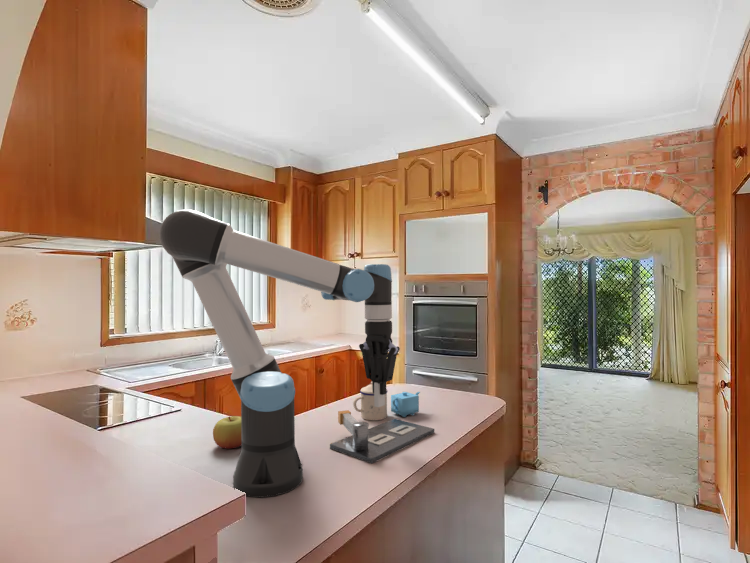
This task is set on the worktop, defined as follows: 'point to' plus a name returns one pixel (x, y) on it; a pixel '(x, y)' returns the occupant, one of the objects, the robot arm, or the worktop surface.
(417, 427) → the plate
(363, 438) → the grey bar
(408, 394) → the teapot
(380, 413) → the teacup with lid
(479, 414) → the worktop surface
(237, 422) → the apple
